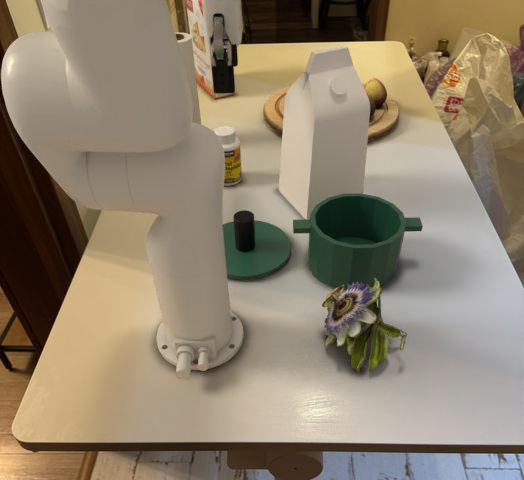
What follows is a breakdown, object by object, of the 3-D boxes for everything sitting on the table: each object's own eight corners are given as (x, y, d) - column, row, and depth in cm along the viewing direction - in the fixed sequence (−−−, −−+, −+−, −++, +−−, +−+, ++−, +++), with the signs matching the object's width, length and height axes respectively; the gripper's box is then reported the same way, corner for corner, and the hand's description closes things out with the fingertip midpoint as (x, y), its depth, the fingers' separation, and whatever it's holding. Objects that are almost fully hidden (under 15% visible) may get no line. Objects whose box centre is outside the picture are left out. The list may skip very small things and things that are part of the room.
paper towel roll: (204, 136, 118) (193, 30, 102) (201, 149, 114) (189, 41, 98) (173, 136, 118) (156, 31, 102) (169, 149, 114) (151, 42, 98)
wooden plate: (269, 87, 135) (269, 52, 129) (393, 89, 132) (398, 54, 126) (257, 147, 114) (255, 109, 108) (404, 150, 111) (411, 111, 105)
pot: (420, 290, 82) (432, 246, 75) (293, 292, 82) (295, 248, 76) (404, 235, 91) (413, 192, 85) (290, 237, 92) (291, 194, 85)
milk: (331, 175, 105) (343, 32, 86) (362, 203, 98) (383, 54, 79) (278, 190, 102) (278, 44, 83) (306, 220, 95) (314, 69, 76)
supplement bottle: (223, 190, 102) (219, 140, 95) (209, 178, 106) (204, 128, 98) (247, 181, 104) (244, 131, 97) (233, 169, 108) (229, 121, 100)
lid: (292, 280, 84) (293, 244, 78) (196, 282, 84) (191, 246, 79) (289, 224, 94) (290, 189, 89) (204, 226, 95) (199, 190, 89)
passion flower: (329, 360, 79) (318, 283, 77) (401, 350, 78) (392, 271, 75) (329, 382, 69) (316, 293, 66) (413, 371, 67) (403, 280, 64)
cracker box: (194, 80, 139) (183, -12, 124) (214, 76, 141) (206, -16, 125) (212, 100, 131) (203, 3, 115) (234, 95, 132) (228, -1, 117)
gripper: (242, -40, 63) (248, 103, 76) (246, -74, 74) (251, 56, 87) (180, -38, 63) (197, 104, 76) (194, -72, 74) (207, 57, 87)
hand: (226, 78), depth 81 cm, fingers open, 9 cm apart
